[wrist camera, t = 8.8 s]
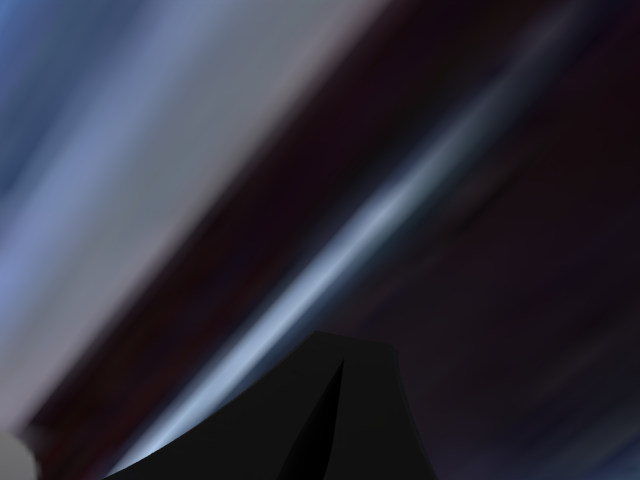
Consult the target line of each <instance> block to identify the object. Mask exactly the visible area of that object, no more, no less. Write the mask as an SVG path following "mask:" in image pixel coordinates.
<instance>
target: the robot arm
mask: <svg viewBox="0 0 640 480" xmlns="http://www.w3.org/2000/svg"><path fill="white" fill-rule="evenodd" d="M102 480H438V477H437V475H436V473H435V471H434V469H433V466H432V464H431V462H430V460H429V457H428V455H427V453H426V450H425V448H424V445H423V443H422V441H421V438H420V435H419V432H418V430H417V427H416V424H415V421H414V419H413V416H412V413H411V410H410V407H409V404H408V401H407V398H406V394H405V390H404V386H403V383H402V378H401V374H400V368H399V360H398V352H397V350H396V349H395V348H394V346H393V345H390V344H385V343H379V342H374V341H368V340H363V339H357V338H352V337H346V336H341V335H335V334H330V333H324V332H319V331H314V332H313V333H311V334H310V335H308V336H307V337H306V338H305V339H304V340H303V341H302V342H301V343H300V344H299V345H297V346H296V347H295V348H294V349H293V350H292V351H291V352H290V353H289V354H288V355H287V356H285V357H284V358H283V359H282V360H281V361H280V362H279V363H277V364H276V365H275V366H274V367H273V368H272V369H271V370H269V371H268V372H267V373H266V374H264V375H263V376H262V377H261V378H260V379H258V380H257V381H256V382H255V383H253V384H252V385H251V386H250V387H248V388H247V389H246V390H245V391H244V392H242V393H241V394H240V395H238V396H237V397H236V398H234V399H233V400H232V401H230V402H229V403H228V404H226V405H225V406H223V407H222V408H221V409H219V410H218V411H216V412H215V413H214V414H212V415H211V416H209V417H208V418H207V419H205V420H204V421H202V422H201V423H200V424H198V425H197V426H195V427H194V428H192V429H191V430H189V431H188V432H186V433H185V434H183V435H181V436H180V437H178V438H177V439H175V440H174V441H172V442H170V443H169V444H167V445H165V446H164V447H162V448H160V449H159V450H157V451H155V452H154V453H152V454H150V455H148V456H147V457H145V458H143V459H141V460H140V461H138V462H136V463H134V464H132V465H130V466H129V467H127V468H125V469H123V470H121V471H119V472H116V473H114V474H112V475H110V476H108V477H106V478H104V479H102Z"/></svg>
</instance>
